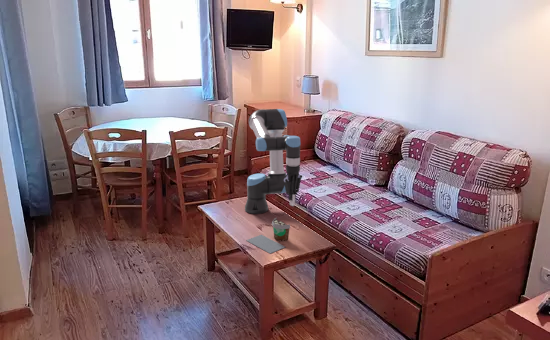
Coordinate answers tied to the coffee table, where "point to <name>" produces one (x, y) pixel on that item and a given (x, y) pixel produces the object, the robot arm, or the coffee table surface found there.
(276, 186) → the robot arm
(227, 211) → the coffee table surface
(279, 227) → the food container
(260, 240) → the mat
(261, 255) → the coffee table surface
